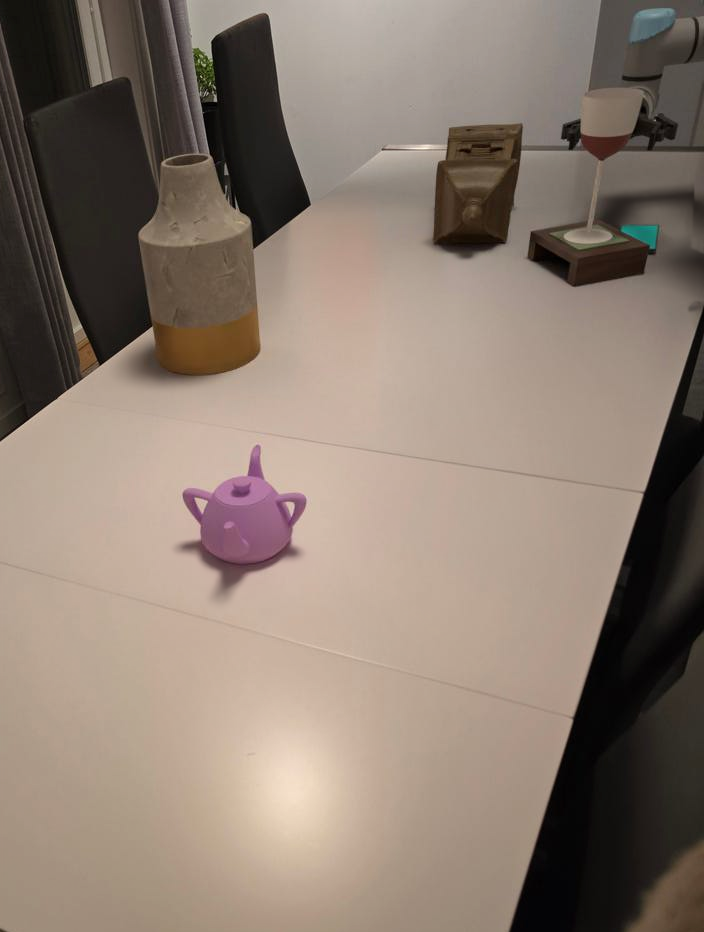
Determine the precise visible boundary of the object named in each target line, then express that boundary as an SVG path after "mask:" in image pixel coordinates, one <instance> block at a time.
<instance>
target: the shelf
mask: <svg viewBox="0 0 704 932" xmlns="http://www.w3.org/2000/svg"><path fill="white" fill-rule="evenodd" d="M587 224H588V220H586V221H580V222H574V223H569V224H563V225H558V226H551V227H546V228H542V229H536V230H531V231H530V233H529V241H528V249H527V256H526V258H527V259H529V260H530V261H532V262H535V261H540V260H546V259H551V258H557V257H559V258H561V259H563V260H565V261H567V262H568V263H570V264H569V269H568V275H567V281H566V282H567V284H569V285H571V286H573V287H577V286H583V285H588V284H594V283H598V282H599V283H600V282H605V281H610V280H615V279H621V278H626V277H631V276H636V275H637V276H638V275H642V274H644V273H645V270H646V265H647V261H648V258H649V257H648V256H649V253H648V252H649V248H650V245H649V244H647V243H645V242H642V241H640V240H638V239H636V238H634V237H632V236H630V235H628V234H626V233H624V232H622V231H620V229H618V228H616V227H613V226H611V225H609V224H608V223H605V222H604V221H601V220H599V219H593V224H592V229H598V230H603V231H607V232H609V233H611V234H612V238H611V239H610V240H607V241H605V242H600V243H592V244H582V243H575V242H570V241H568V240H566V239H565V238H564V234H566V233H567V232H570V231H574V230H579V229H587Z"/></svg>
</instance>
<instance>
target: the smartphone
mask: <svg viewBox="0 0 704 932" xmlns="http://www.w3.org/2000/svg"><path fill="white" fill-rule="evenodd" d="M619 230H620V231H622V232H624V233H626V234H628V235H630V236H632V237H634V238H636V239H638V240H640V241H642V242H645V243H647V244H649V245H650V248H649V252H648V254H656V252H657V246H658V241H659V239H658V238H659V231H660V224H621V225H620V228H619Z"/></svg>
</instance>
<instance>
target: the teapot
mask: <svg viewBox="0 0 704 932" xmlns="http://www.w3.org/2000/svg"><path fill="white" fill-rule="evenodd" d="M261 453H262V447H261V445H260V444H256V445H254V447H253V448H252V450H251V453H250V458H249V465H248V470H247V475H240V476H239V475H238V476H235V477H231V478H229V479H227V480H226V479H225V480H224V481H223V482H221V483H220V484H219V485H218V486H216V488H215V490H214V491H213V492H210V491H207V490H204V489H200V488H196V487H187V488H185V489H184V490H183V491H182V494H181V495H182V500H183V503H184V505H185V507H186V508H187V510H188V512H190V514H191V515H192V516H193V518H194V519H195V520H196V521H197V523H198V524H199V525H200V527H199V532H200V540H201V543H202V544H203V546H204V547H205V549H206V550H207V551H208V552H209V553H210V554H212V555H213V556H215V557H217V558H218V559H220V560H222V561H224V562H227V563H231V564H238V565H249V564H256V563H261V562H264V561H267V560H269V559H271V558H273V557H274V556H276V555H278V553H279V552H281V551H282V550H283V549H284V548H285V547H286V546H287V545H288V543H289V542H290V540H291V537H292V535H293V532H294V526H295V525H296V523H297V522H298V521H299V520H300V518H301V516H302V515H303V514H304V511H305V510H306V508H307V497H306V495H305V494H303V493H301V492H287V493H281V494H280V493H279V492H278V491H277V490H276V489H275V488H274V487H273V485H272V484H270V482H268V481H266V479H265V476H264V472H263V469H262V464H261V463H262V462H261ZM196 499H201V500H204V501H207V502H206V505H205V507H204V509H203V512H202V511H201V510H200V508H199V506H198V504H197V501H196ZM286 503H293V506H294V508H293V512H292V514H291V512H290V510H289V507H288V505H287V504H286Z"/></svg>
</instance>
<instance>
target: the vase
mask: <svg viewBox="0 0 704 932" xmlns="http://www.w3.org/2000/svg"><path fill="white" fill-rule="evenodd" d="M159 179H160V180H159V181H160V183H159V196H158V203H157V208H156V211H155V212H154V215H153V216H152V218H151V220H149V222H147V223H146V224H145V225H144V226H143V227H141V229H140V230H139V232H138V234H137V235H138V243H139V249H140V256H141V264H142V269H143V275H144V282H145V287H146V294H147V300H148V307H149V313H150V320H151V325H152V332H153V337H154V344H155V351H156V357H157V362H158V364H159V365H160V367H162V368H163V369H165V370H167V371H168V372H171V373H175V374H181V375H188V376H206V375H207V376H208V375H215V374H220V373H225V372H229V371H232V370H235V369H238V368H241V367H243V366H246V365H247V364H248V363H251V362H252V361H253V360H254V359H256V358H257V357H258V356H259V354H260V352H261V337H260V323H259V309H258V297H257V296H258V295H257V294H258V293H257V282H256V281H257V280H256V269H255V268H256V267H255V255H254V242H253V241H254V239H253V230H252V228H253V227H252V221H251V219H250V217H249V216H247V215H246V214H244V213H242V212H240V211H239V210H237V209H235V208H234V207H233V206H232V205H231V204H230V203H229V201H228V200H227V198H226V197H225V194H224V192H223V189H222V186H221V183H220V180H219V177H218V173H217V169H216V166H215V163H214V158H213V157H212V155H210V154H206V153H187V154H180V155H175V156H172V157H169V158H166V159H164V160H162V162H161V163H160V177H159Z"/></svg>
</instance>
